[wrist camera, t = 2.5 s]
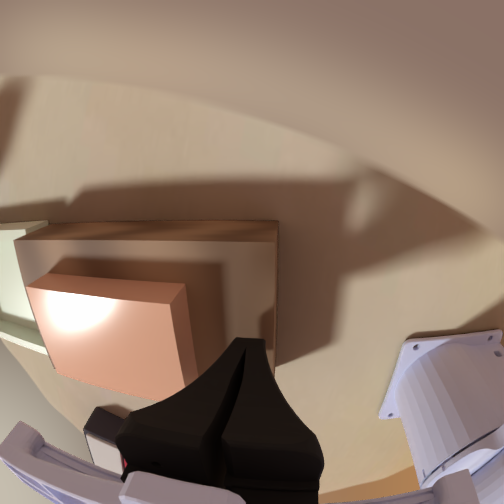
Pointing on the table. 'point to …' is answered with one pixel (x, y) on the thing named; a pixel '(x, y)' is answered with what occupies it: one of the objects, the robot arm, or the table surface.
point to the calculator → (104, 440)
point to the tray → (16, 290)
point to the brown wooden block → (175, 270)
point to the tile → (117, 332)
